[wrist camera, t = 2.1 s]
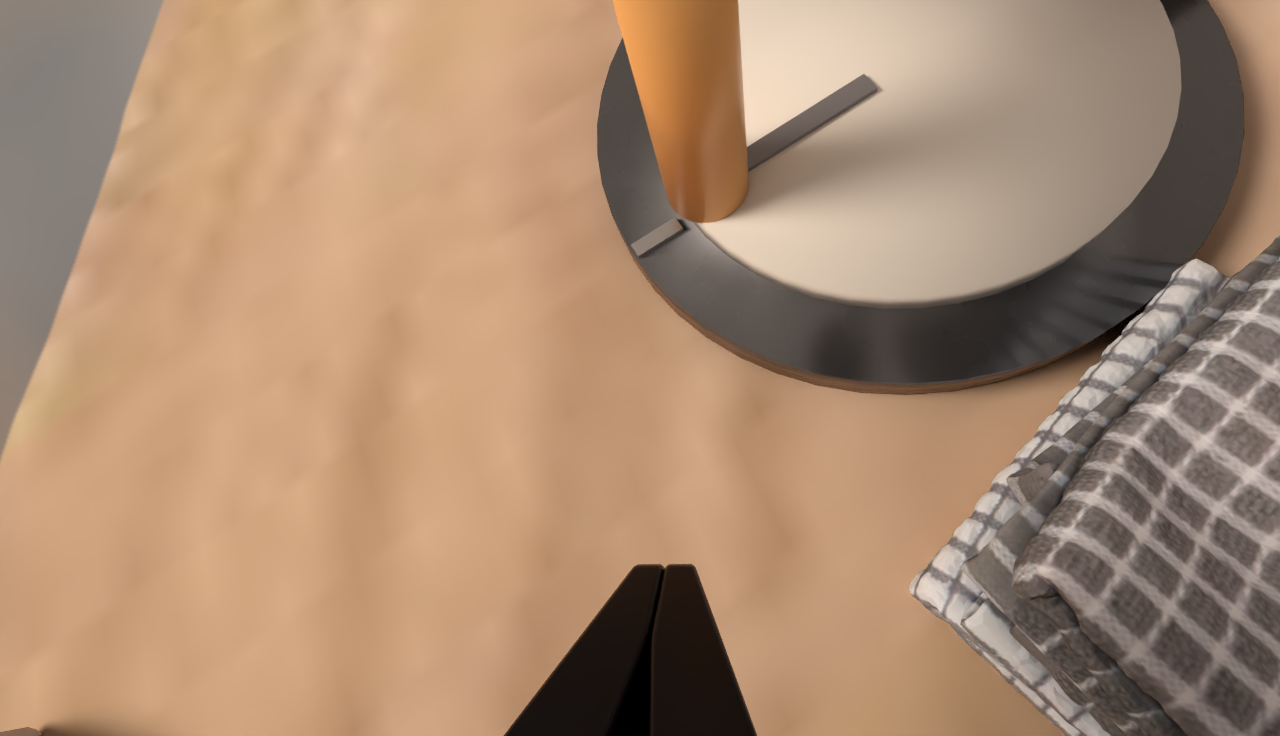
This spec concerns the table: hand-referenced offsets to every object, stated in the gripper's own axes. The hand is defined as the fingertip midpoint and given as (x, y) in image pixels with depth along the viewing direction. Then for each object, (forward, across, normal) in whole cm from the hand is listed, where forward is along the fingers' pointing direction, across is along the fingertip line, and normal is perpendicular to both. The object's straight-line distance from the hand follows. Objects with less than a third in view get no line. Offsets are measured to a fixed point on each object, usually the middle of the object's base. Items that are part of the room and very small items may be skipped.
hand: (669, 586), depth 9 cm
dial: (+21, -7, -4) cm, 22 cm away
